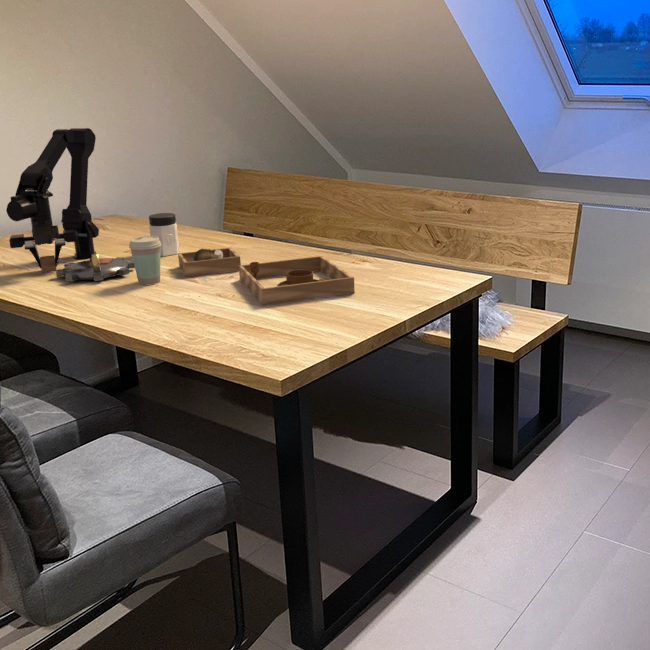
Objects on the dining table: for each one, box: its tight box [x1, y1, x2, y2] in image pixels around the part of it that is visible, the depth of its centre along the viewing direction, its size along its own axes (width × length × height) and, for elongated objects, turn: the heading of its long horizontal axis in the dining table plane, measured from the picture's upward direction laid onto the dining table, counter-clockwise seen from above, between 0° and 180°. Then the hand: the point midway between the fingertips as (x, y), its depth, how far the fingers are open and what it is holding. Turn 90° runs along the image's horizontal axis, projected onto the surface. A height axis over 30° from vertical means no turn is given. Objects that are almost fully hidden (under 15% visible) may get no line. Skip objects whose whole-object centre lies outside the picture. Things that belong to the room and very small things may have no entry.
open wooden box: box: [177, 247, 242, 278], centre depth 228 cm, size 13×16×4 cm
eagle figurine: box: [193, 248, 223, 261], centre depth 227 cm, size 8×7×9 cm
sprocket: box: [55, 253, 135, 282], centre depth 227 cm, size 22×22×6 cm
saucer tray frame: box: [238, 255, 356, 306], centre depth 207 cm, size 26×24×4 cm
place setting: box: [249, 261, 326, 287], centre depth 208 cm, size 18×20×6 cm
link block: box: [39, 254, 57, 274], centre depth 234 cm, size 4×4×4 cm
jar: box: [148, 212, 180, 257], centre depth 248 cm, size 9×8×12 cm
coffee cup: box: [128, 235, 161, 286], centre depth 216 cm, size 8×8×12 cm
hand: (48, 267), depth 234 cm, fingers closed on link block, 4 cm apart
